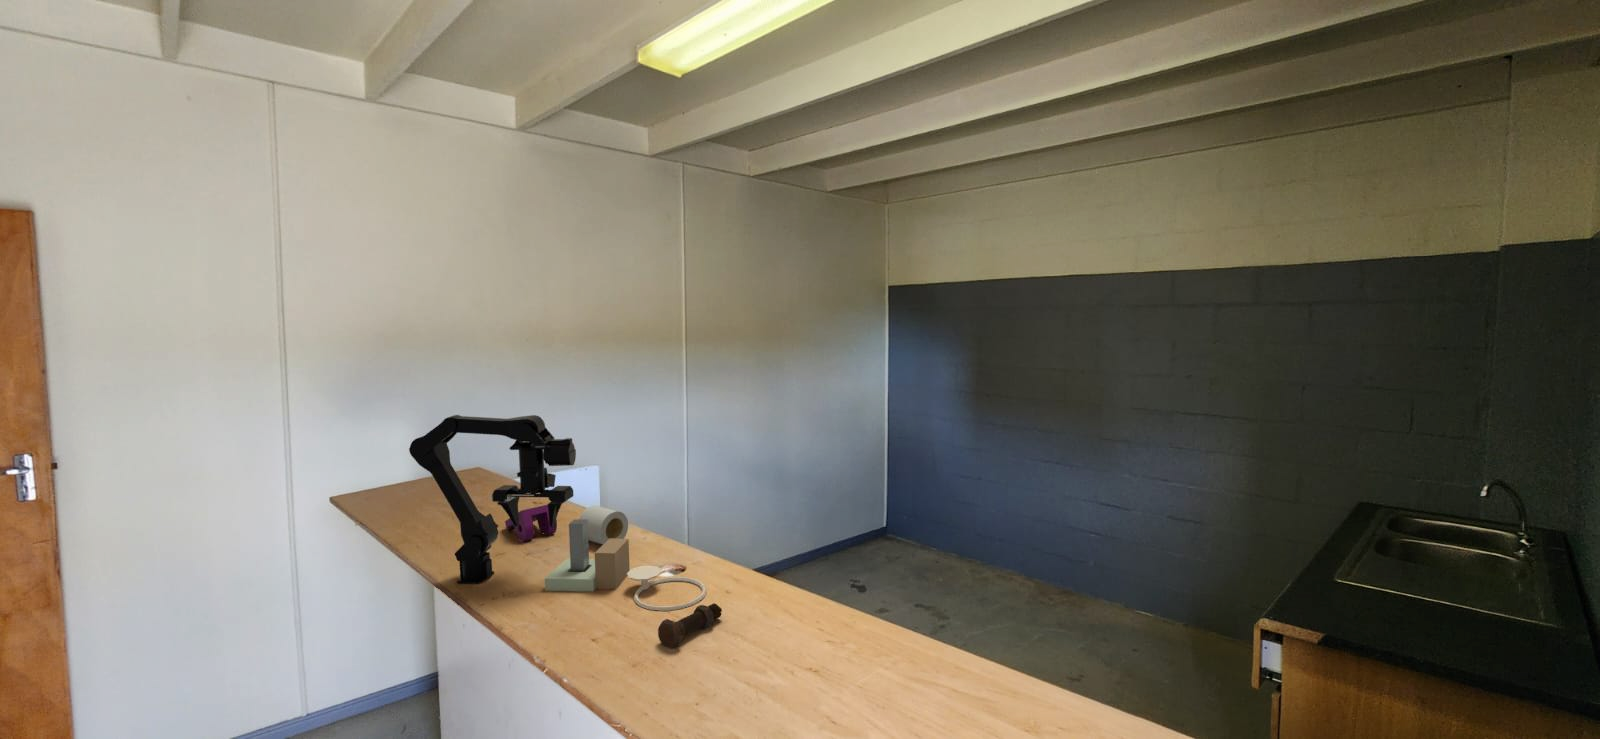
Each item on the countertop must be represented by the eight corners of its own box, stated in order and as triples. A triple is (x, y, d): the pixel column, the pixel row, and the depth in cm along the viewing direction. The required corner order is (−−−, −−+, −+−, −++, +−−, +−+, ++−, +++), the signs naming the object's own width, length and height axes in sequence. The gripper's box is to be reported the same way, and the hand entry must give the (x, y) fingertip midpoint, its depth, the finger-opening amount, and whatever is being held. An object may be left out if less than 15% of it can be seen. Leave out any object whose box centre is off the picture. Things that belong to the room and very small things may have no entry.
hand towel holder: (675, 600, 142) (606, 582, 151) (676, 619, 142) (606, 600, 152) (720, 571, 157) (654, 557, 166) (720, 589, 157) (654, 573, 167)
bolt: (720, 627, 141) (669, 655, 129) (705, 611, 144) (654, 636, 132) (730, 608, 139) (679, 634, 127) (715, 592, 142) (663, 616, 130)
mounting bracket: (506, 550, 199) (527, 538, 187) (500, 524, 201) (521, 510, 189) (536, 542, 206) (559, 530, 194) (530, 517, 208) (552, 503, 196)
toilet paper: (578, 544, 188) (577, 510, 187) (606, 534, 196) (605, 502, 195) (600, 551, 182) (599, 516, 181) (628, 540, 190) (627, 507, 189)
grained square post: (571, 582, 161) (568, 523, 159) (576, 577, 164) (574, 519, 163) (584, 582, 161) (582, 524, 159) (589, 577, 164) (587, 519, 163)
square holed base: (545, 590, 156) (543, 554, 155) (568, 569, 169) (566, 535, 168) (613, 591, 155) (612, 555, 154) (631, 570, 168) (630, 536, 167)
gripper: (581, 459, 169) (583, 517, 171) (512, 458, 171) (515, 516, 172) (562, 469, 158) (565, 531, 160) (489, 468, 160) (492, 530, 161)
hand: (534, 526), depth 163 cm, fingers open, 9 cm apart
